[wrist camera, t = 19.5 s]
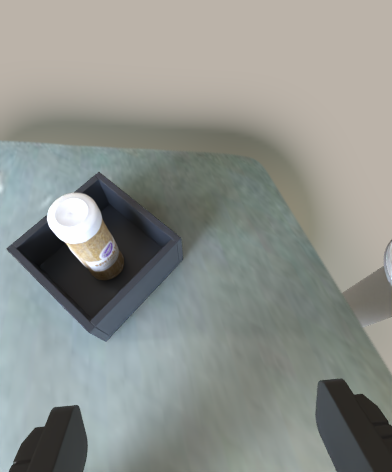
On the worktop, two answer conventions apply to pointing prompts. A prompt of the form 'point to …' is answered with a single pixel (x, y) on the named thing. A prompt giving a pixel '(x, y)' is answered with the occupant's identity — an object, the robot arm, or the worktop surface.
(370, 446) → the robot arm
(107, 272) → the sprinkles bottle
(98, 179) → the open box
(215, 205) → the worktop surface
